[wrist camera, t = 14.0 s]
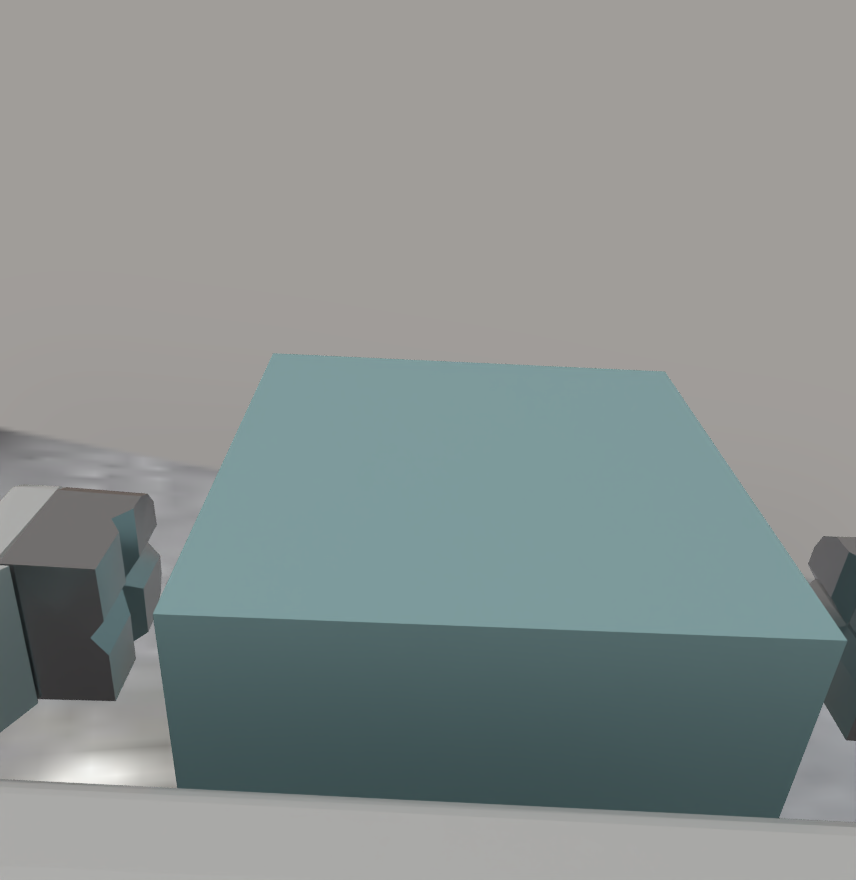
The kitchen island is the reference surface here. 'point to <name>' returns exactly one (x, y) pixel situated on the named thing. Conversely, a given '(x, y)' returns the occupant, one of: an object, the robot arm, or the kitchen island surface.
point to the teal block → (488, 598)
